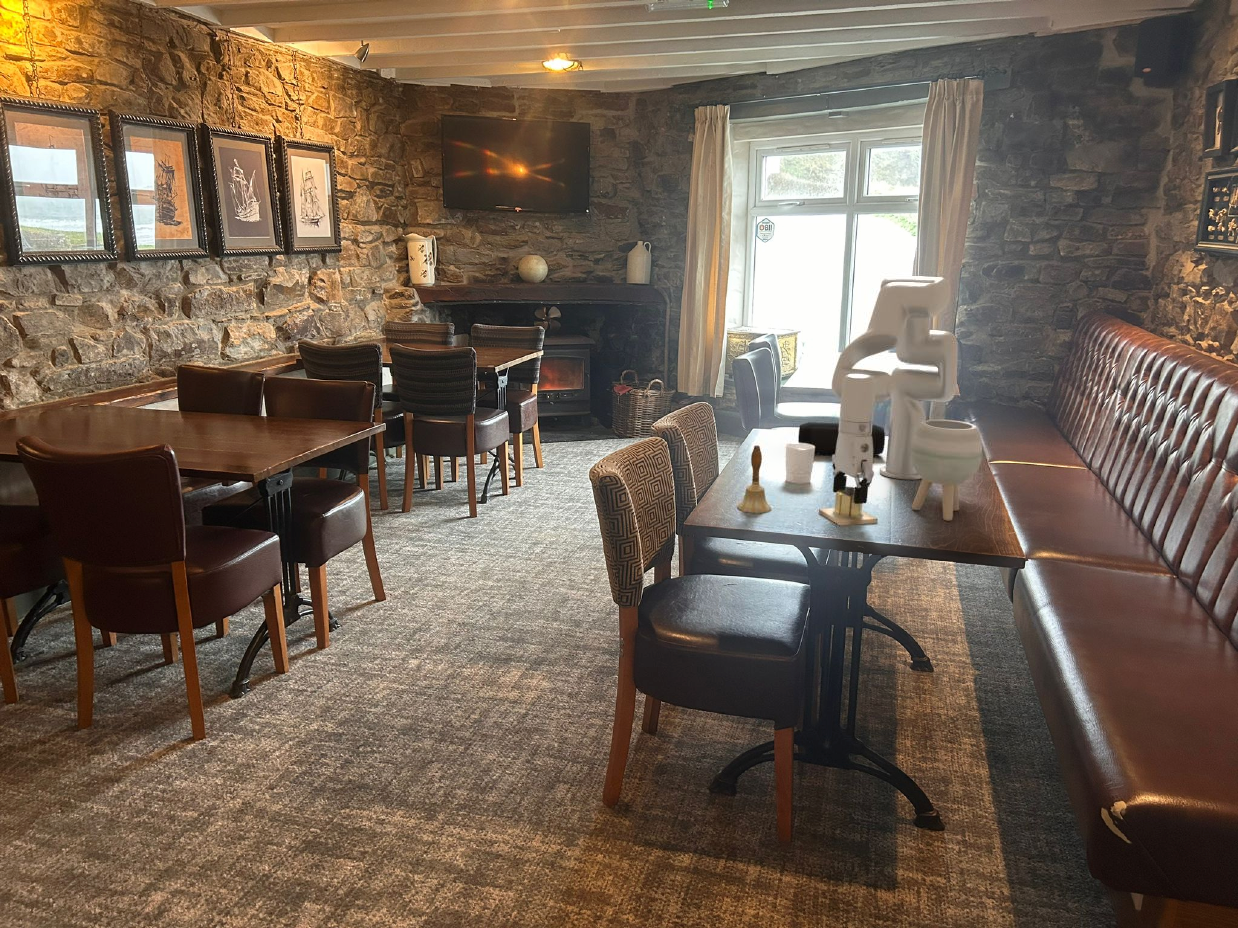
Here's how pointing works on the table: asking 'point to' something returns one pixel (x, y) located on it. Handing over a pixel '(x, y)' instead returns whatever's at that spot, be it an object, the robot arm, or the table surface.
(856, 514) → the collar
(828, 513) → the post stand
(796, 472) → the white cup
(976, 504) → the table surface
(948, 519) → the planter
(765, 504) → the hand bell
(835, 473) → the robot arm
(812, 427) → the portable speaker
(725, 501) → the table surface
